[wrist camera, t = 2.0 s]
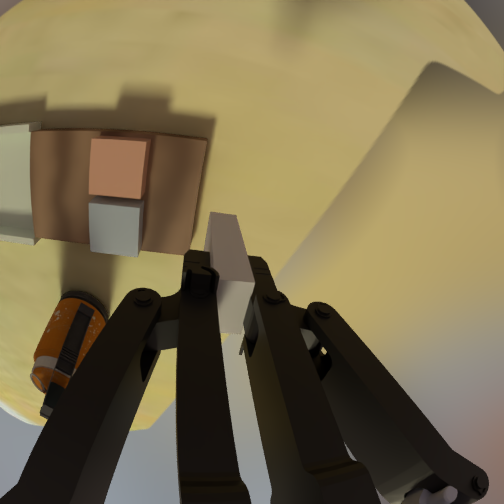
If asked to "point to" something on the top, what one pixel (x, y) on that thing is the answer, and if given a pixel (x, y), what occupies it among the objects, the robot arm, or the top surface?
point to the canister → (66, 344)
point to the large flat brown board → (77, 196)
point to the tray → (16, 183)
